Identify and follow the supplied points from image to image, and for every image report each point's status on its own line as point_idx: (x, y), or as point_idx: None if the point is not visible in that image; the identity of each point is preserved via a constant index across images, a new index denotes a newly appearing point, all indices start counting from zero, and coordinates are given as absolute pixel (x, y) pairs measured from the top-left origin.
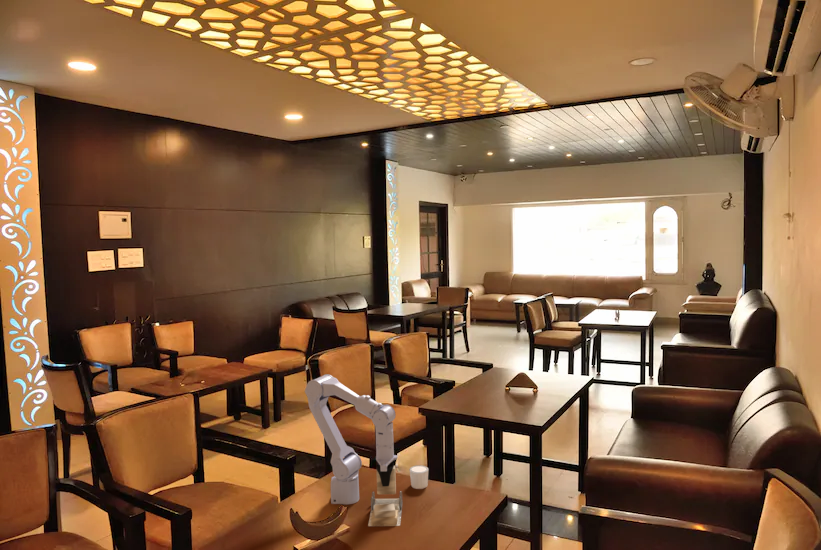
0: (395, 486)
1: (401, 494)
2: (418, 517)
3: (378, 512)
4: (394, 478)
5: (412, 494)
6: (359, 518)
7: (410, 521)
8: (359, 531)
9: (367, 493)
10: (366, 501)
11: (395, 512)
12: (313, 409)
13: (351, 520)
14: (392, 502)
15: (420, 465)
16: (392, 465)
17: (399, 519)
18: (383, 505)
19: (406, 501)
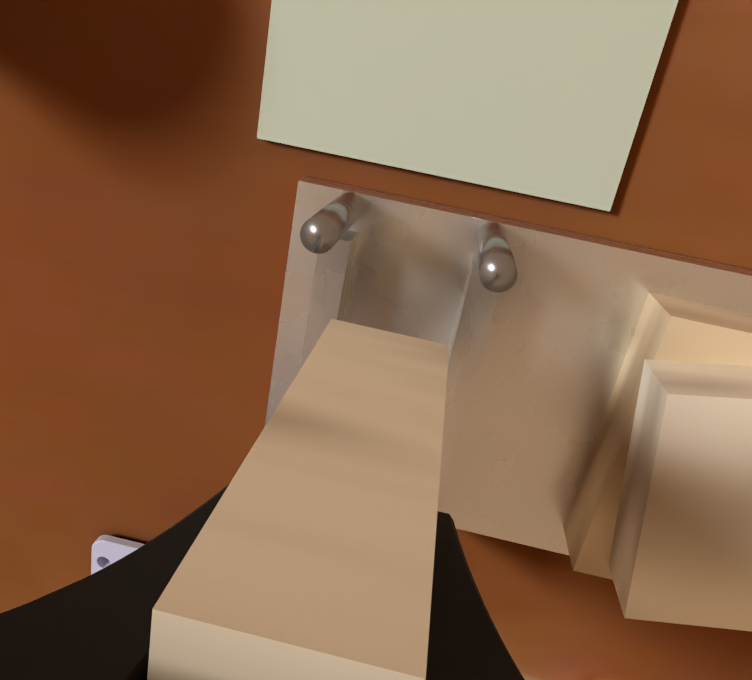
0: (388, 373)
1: (342, 222)
2: (690, 29)
3: None
4: (438, 494)
5: (78, 11)
6: (500, 602)
7: (748, 151)
8: (732, 636)
9: (41, 475)
10: (196, 506)
11: (727, 354)
12: None
13: (515, 658)
14: (344, 311)
15: None
16: (131, 677)
17: (738, 289)
18: (667, 521)
19: (248, 119)
